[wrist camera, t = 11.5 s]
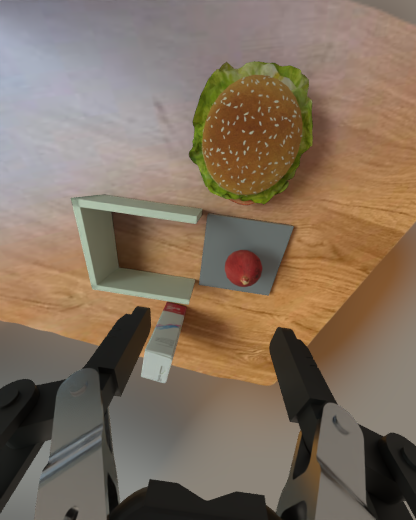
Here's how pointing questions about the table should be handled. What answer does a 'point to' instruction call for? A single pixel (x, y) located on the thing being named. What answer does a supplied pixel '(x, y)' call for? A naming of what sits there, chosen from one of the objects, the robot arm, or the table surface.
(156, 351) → the ink box
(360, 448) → the robot arm
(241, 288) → the tile
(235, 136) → the food
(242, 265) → the onion
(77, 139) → the table surface
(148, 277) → the cubby
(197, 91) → the table surface
